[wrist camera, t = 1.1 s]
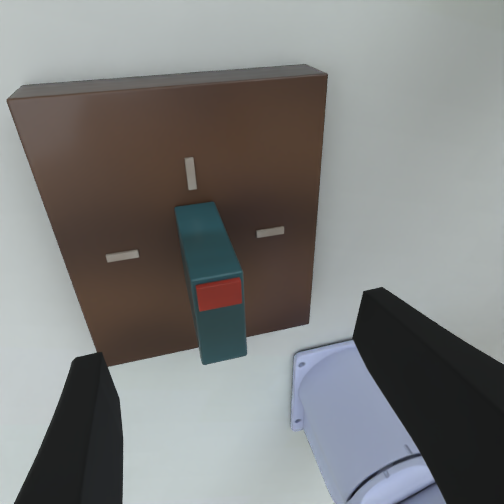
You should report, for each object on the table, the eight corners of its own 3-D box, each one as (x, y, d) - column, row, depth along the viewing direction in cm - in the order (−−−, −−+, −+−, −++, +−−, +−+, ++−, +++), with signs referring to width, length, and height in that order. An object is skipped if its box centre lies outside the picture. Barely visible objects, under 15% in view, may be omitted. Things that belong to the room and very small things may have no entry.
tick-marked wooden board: (295, 298, 26) (310, 326, 24) (104, 336, 23) (102, 370, 21) (306, 63, 18) (330, 73, 16) (20, 84, 16) (3, 100, 13)
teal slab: (220, 275, 20) (249, 361, 15) (185, 281, 20) (203, 371, 15) (214, 200, 18) (245, 275, 13) (173, 206, 17) (191, 285, 13)
